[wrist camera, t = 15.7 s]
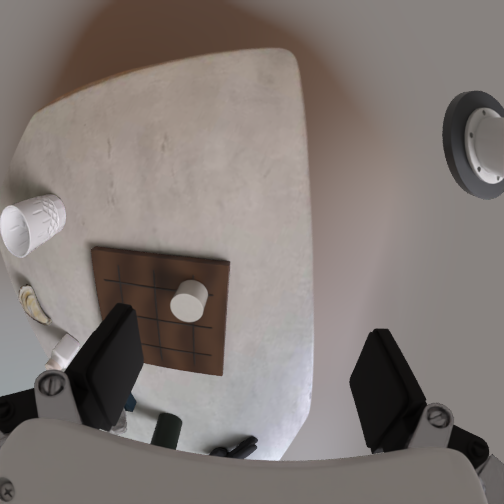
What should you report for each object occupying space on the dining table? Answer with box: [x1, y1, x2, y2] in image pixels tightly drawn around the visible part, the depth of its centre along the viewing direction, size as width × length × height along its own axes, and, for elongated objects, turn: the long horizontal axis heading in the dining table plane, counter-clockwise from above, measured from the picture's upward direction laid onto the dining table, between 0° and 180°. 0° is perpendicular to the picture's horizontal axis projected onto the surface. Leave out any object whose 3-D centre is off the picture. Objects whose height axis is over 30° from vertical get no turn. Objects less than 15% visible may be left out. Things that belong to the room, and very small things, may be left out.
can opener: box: [209, 437, 258, 459], centre depth 57 cm, size 18×7×6 cm, turn 141°
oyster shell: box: [18, 284, 52, 325], centre depth 44 cm, size 6×4×10 cm
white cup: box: [0, 194, 66, 258], centre depth 33 cm, size 8×8×10 cm
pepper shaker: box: [45, 334, 80, 371], centre depth 44 cm, size 4×4×10 cm
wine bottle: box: [150, 413, 182, 450], centre depth 42 cm, size 6×6×30 cm
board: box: [91, 246, 230, 376], centre depth 43 cm, size 22×22×2 cm
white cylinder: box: [170, 280, 208, 322], centre depth 38 cm, size 5×5×4 cm
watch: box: [104, 393, 136, 435], centre depth 48 cm, size 6×8×11 cm
